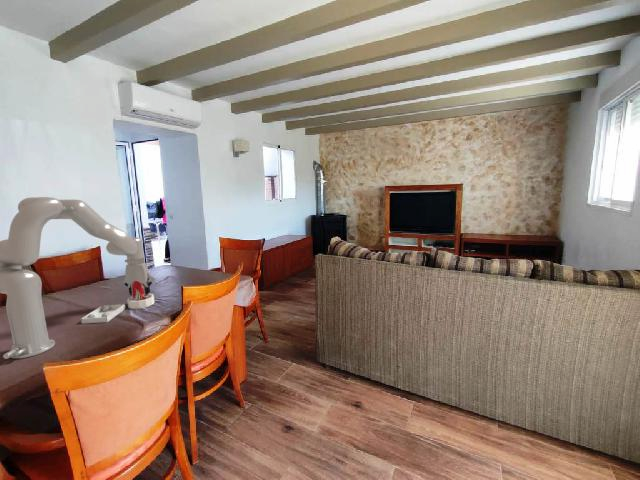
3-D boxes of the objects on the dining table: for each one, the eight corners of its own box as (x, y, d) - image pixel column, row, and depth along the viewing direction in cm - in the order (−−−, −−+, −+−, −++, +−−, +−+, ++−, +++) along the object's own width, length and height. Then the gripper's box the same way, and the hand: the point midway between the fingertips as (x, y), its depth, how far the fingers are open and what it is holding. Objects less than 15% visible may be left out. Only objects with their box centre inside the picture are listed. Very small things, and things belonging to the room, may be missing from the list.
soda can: (141, 302, 153) (138, 280, 152) (129, 301, 155) (126, 279, 153) (151, 297, 160) (149, 276, 158) (140, 296, 162) (137, 275, 160)
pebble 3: (107, 320, 139) (106, 313, 138) (100, 320, 138) (99, 314, 138) (111, 317, 142) (110, 311, 141) (104, 317, 141) (103, 311, 141)
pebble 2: (108, 312, 148) (107, 306, 148) (101, 312, 148) (100, 306, 148) (111, 309, 151) (110, 304, 151) (105, 310, 151) (104, 304, 151)
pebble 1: (93, 321, 138) (92, 315, 137) (86, 322, 137) (85, 315, 137) (97, 318, 141) (96, 312, 140) (90, 319, 140) (89, 313, 140)
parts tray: (107, 322, 137) (106, 317, 137) (81, 324, 136) (80, 318, 135) (125, 308, 153) (125, 304, 152) (102, 310, 151) (101, 305, 151)
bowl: (148, 308, 153) (147, 300, 152) (123, 309, 152) (122, 302, 151) (157, 299, 165) (157, 292, 164) (135, 301, 163) (134, 294, 163)
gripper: (114, 264, 149) (118, 297, 152) (150, 262, 151) (154, 295, 154) (122, 260, 157) (126, 292, 160) (156, 259, 159) (160, 291, 162)
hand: (140, 293), depth 157 cm, fingers closed on soda can, 7 cm apart
